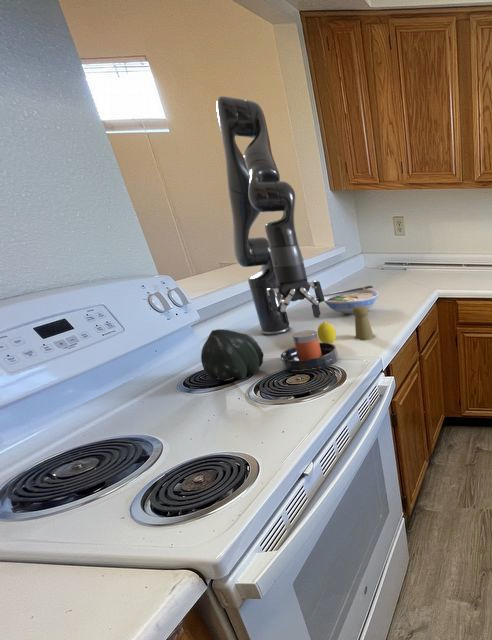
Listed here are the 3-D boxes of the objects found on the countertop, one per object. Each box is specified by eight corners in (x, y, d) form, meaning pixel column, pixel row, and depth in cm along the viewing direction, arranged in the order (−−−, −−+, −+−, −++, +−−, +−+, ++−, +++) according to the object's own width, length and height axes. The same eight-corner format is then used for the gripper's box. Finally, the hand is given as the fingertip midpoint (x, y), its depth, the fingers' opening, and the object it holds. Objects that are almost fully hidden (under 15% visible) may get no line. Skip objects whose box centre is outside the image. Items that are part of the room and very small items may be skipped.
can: (296, 362, 124) (288, 334, 120) (317, 356, 128) (311, 328, 124) (305, 368, 120) (297, 338, 116) (326, 361, 124) (320, 332, 120)
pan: (276, 364, 124) (272, 352, 122) (325, 351, 134) (322, 339, 132) (296, 378, 114) (292, 365, 113) (347, 362, 124) (344, 350, 122)
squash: (272, 343, 125) (222, 312, 116) (273, 361, 113) (218, 328, 104) (241, 378, 125) (189, 350, 116) (239, 400, 113) (180, 371, 104)
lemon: (321, 349, 135) (316, 325, 132) (319, 344, 140) (314, 321, 137) (339, 346, 138) (334, 322, 134) (336, 341, 142) (332, 318, 139)
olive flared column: (368, 340, 142) (363, 309, 137) (352, 339, 143) (346, 308, 139) (376, 334, 147) (371, 304, 143) (361, 334, 148) (355, 303, 144)
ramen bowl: (335, 324, 161) (331, 303, 158) (315, 313, 177) (310, 294, 173) (393, 311, 176) (391, 292, 172) (369, 302, 192) (367, 284, 188)
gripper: (308, 258, 119) (320, 313, 126) (255, 265, 110) (271, 324, 116) (320, 260, 114) (331, 317, 121) (265, 268, 105) (281, 329, 111)
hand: (302, 321), depth 119 cm, fingers open, 8 cm apart
